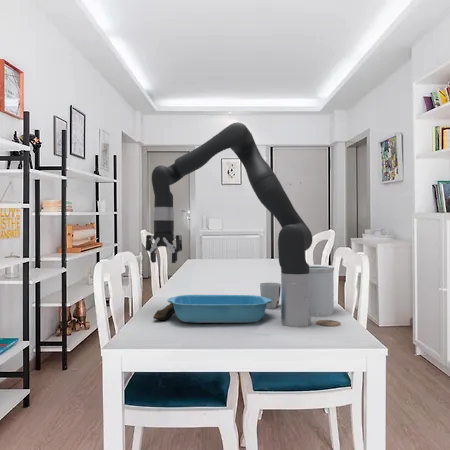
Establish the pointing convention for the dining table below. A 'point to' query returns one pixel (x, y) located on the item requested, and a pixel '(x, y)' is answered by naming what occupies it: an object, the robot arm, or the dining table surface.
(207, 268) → the dining table surface
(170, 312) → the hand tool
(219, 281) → the dining table surface
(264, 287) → the cup
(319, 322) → the cork coaster
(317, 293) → the utensil holder
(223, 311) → the casserole dish
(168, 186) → the robot arm
